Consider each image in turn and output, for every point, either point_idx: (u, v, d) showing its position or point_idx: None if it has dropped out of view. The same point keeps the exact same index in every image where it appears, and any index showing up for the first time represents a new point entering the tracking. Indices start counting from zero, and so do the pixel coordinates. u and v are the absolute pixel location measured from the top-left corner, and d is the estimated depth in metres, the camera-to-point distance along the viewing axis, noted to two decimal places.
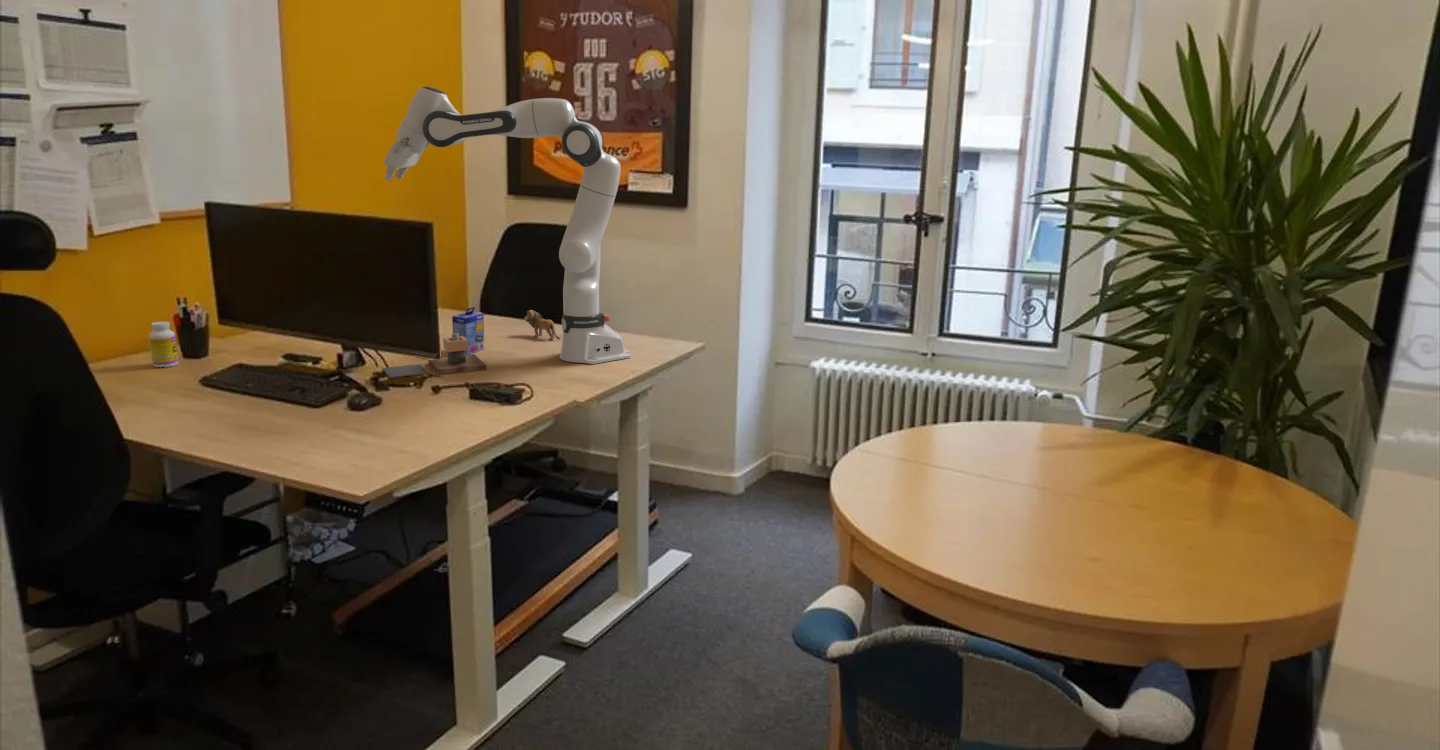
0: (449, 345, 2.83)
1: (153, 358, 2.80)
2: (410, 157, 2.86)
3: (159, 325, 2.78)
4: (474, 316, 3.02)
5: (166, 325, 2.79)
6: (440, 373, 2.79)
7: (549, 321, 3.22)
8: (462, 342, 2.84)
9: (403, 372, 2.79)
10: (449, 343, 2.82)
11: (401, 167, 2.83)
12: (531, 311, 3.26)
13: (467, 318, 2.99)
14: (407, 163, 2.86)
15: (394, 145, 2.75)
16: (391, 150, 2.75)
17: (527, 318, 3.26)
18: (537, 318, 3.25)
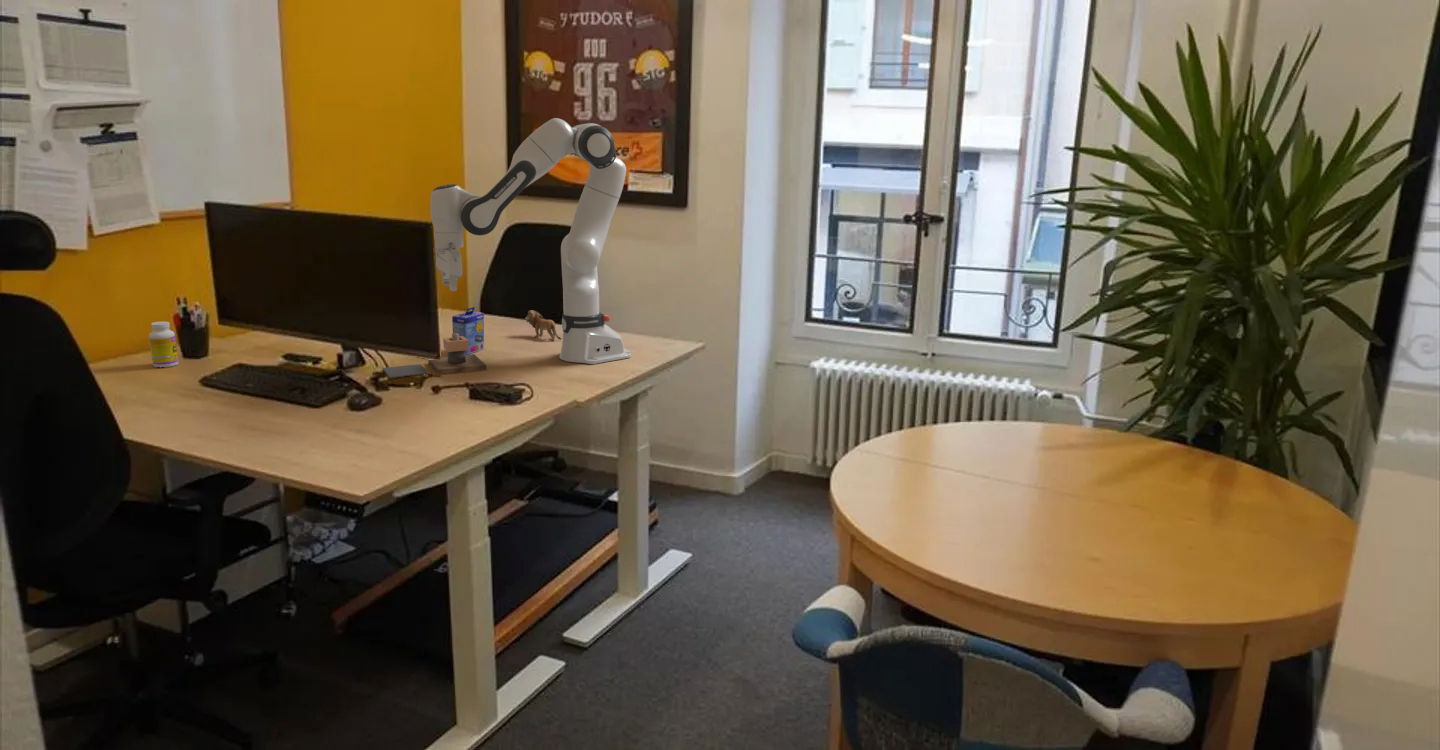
0: (449, 345, 2.83)
1: (153, 358, 2.80)
2: None
3: (159, 325, 2.78)
4: (474, 316, 3.02)
5: (166, 325, 2.79)
6: (440, 373, 2.79)
7: (550, 321, 3.22)
8: (462, 342, 2.84)
9: (403, 372, 2.79)
10: (449, 343, 2.82)
11: None
12: (532, 311, 3.26)
13: (467, 318, 2.99)
14: None
15: (451, 255, 2.71)
16: (451, 261, 2.71)
17: (528, 318, 3.25)
18: (538, 319, 3.25)
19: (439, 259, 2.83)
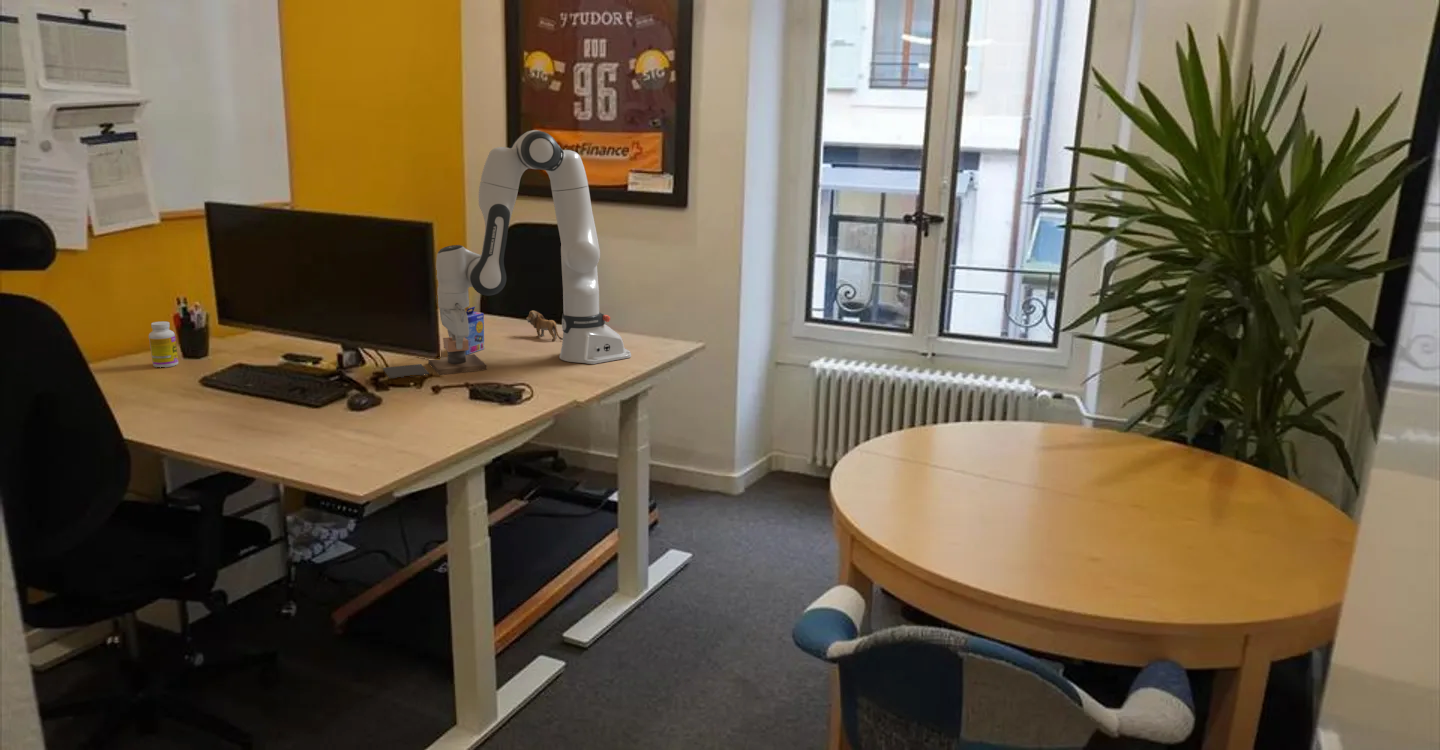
0: (449, 345, 2.83)
1: (153, 358, 2.80)
2: None
3: (159, 325, 2.78)
4: (474, 316, 3.02)
5: (166, 325, 2.79)
6: (440, 373, 2.79)
7: (551, 321, 3.21)
8: None
9: (403, 372, 2.79)
10: (449, 343, 2.82)
11: None
12: (533, 312, 3.25)
13: None
14: None
15: (457, 316, 2.75)
16: (458, 322, 2.75)
17: (529, 319, 3.25)
18: (539, 319, 3.25)
19: (445, 318, 2.87)
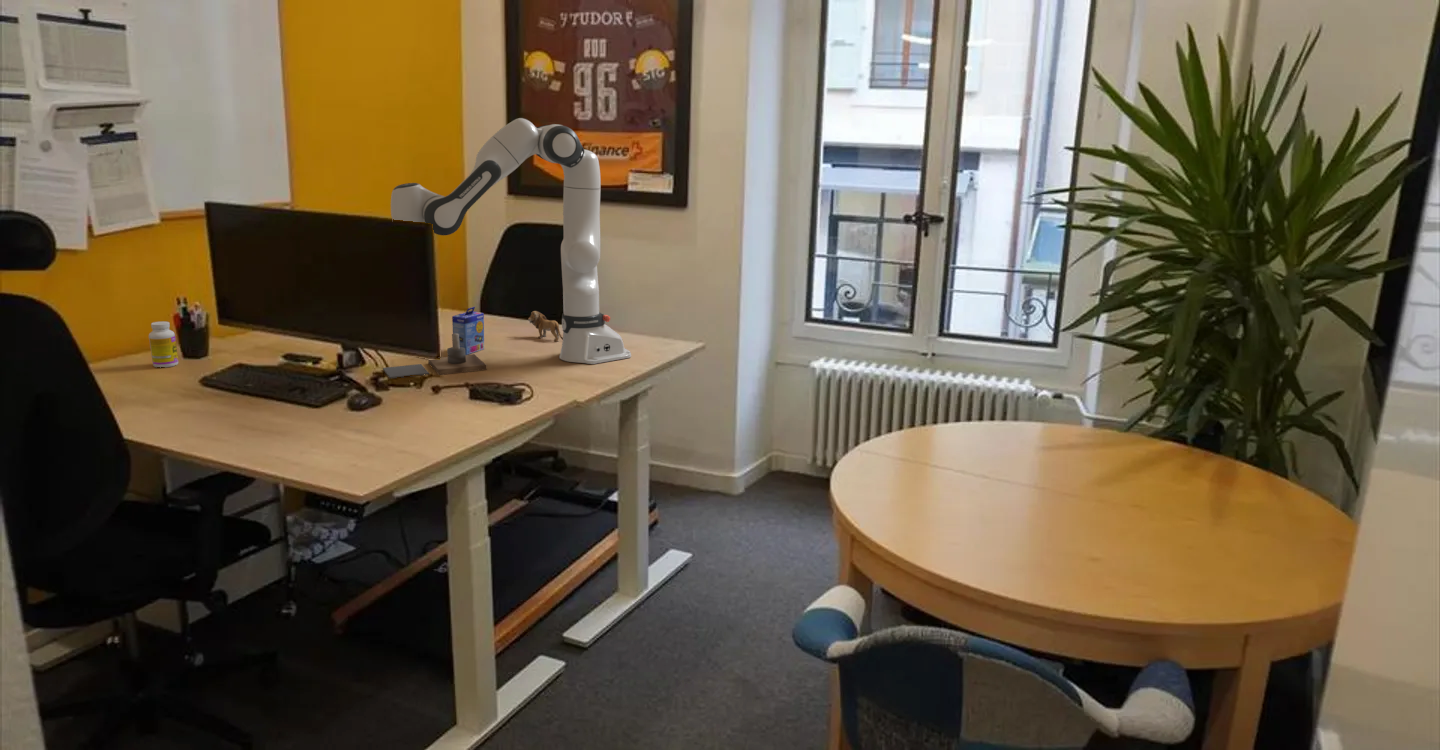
0: None
1: (153, 358, 2.80)
2: None
3: (159, 325, 2.78)
4: (474, 316, 3.02)
5: (166, 325, 2.79)
6: (440, 373, 2.79)
7: (554, 322, 3.21)
8: None
9: (403, 372, 2.79)
10: None
11: None
12: (535, 312, 3.24)
13: (467, 318, 2.99)
14: None
15: None
16: None
17: (531, 319, 3.24)
18: (541, 319, 3.24)
19: None
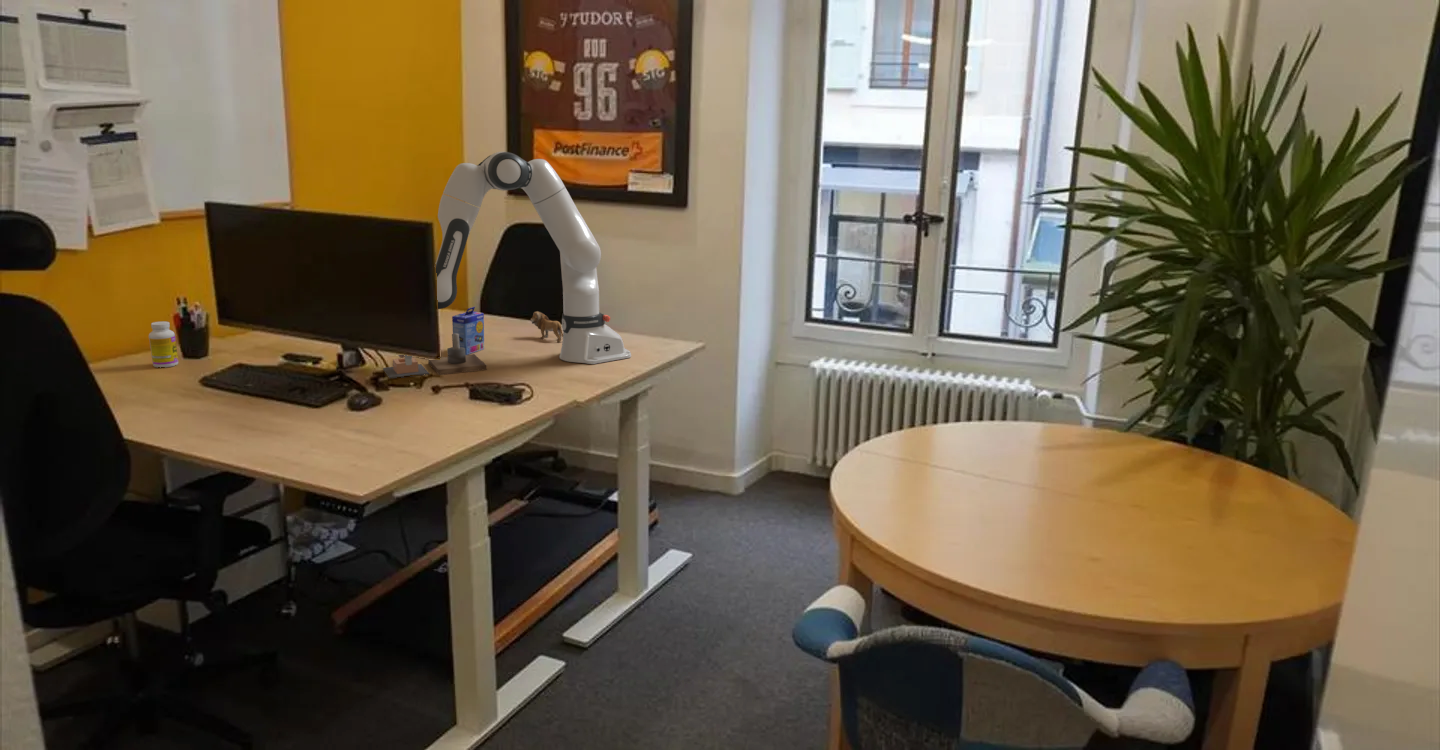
0: (398, 367, 2.77)
1: (153, 358, 2.80)
2: None
3: (159, 325, 2.78)
4: (474, 316, 3.02)
5: (166, 325, 2.79)
6: (440, 373, 2.79)
7: (556, 322, 3.20)
8: None
9: None
10: (398, 365, 2.77)
11: None
12: (537, 313, 3.24)
13: (467, 318, 2.99)
14: None
15: None
16: None
17: (533, 320, 3.23)
18: (543, 320, 3.23)
19: None
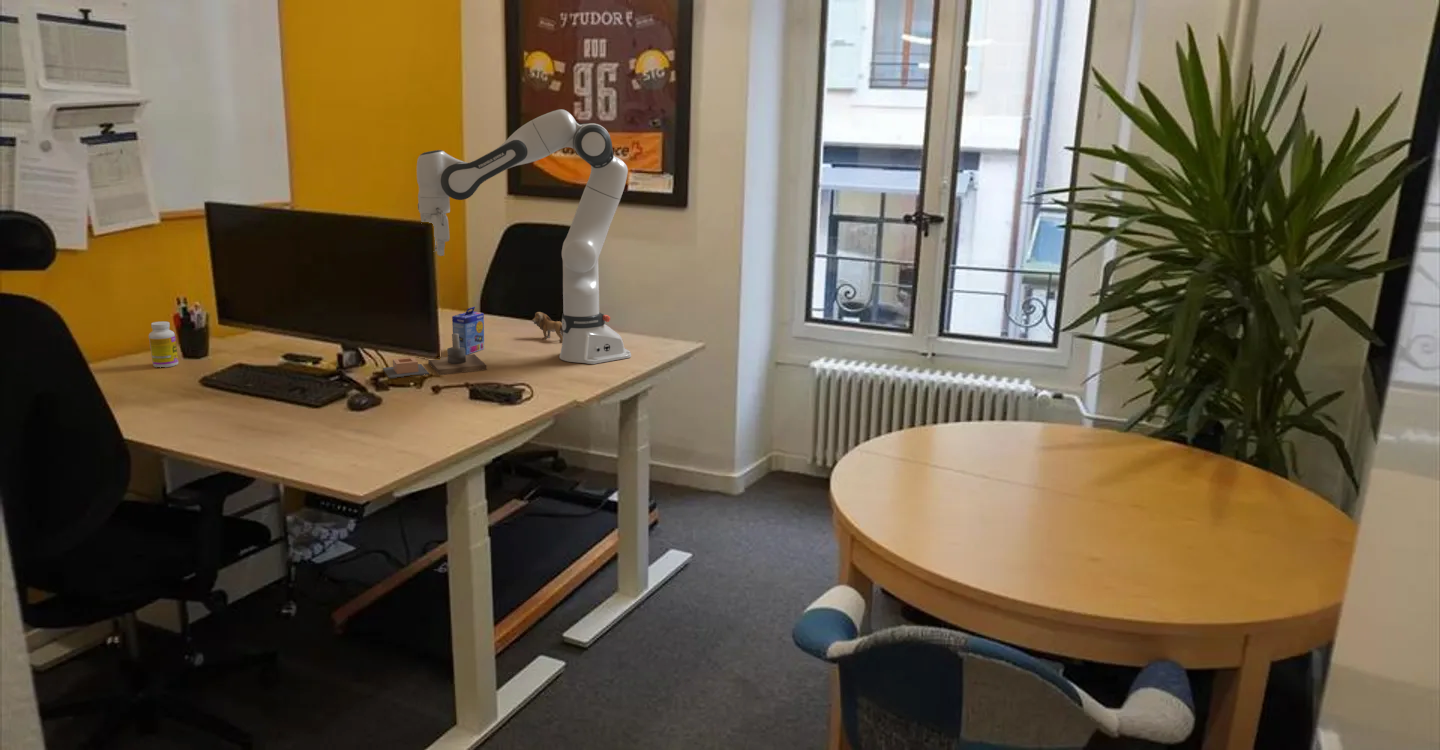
0: (398, 367, 2.77)
1: (153, 358, 2.80)
2: None
3: (159, 325, 2.78)
4: (474, 316, 3.02)
5: (166, 325, 2.79)
6: (440, 373, 2.79)
7: (559, 323, 3.20)
8: (411, 364, 2.79)
9: None
10: (398, 365, 2.77)
11: None
12: (539, 313, 3.23)
13: (467, 318, 2.99)
14: None
15: (438, 219, 2.75)
16: (438, 225, 2.75)
17: (535, 320, 3.23)
18: (546, 320, 3.23)
19: None
